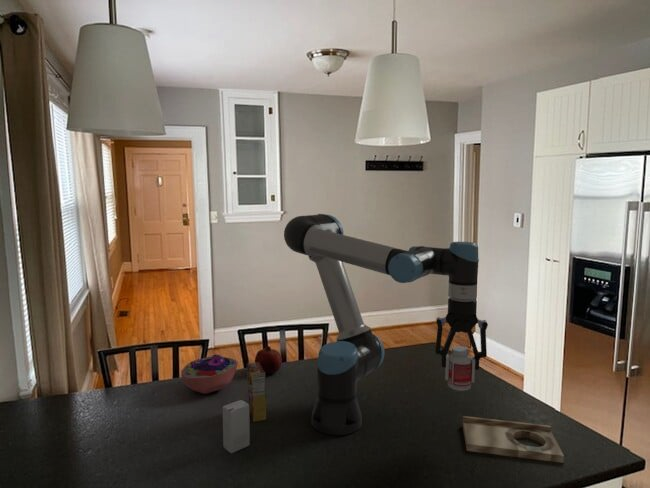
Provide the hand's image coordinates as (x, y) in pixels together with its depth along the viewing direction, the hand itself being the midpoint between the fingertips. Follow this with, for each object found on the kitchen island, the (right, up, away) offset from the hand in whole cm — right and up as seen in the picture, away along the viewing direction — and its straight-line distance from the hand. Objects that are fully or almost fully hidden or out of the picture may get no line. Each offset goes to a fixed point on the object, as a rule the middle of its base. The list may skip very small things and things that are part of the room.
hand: (459, 379), depth 126 cm
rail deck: (+14, -18, 0) cm, 22 cm away
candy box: (-59, -15, +14) cm, 62 cm away
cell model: (-78, -13, +31) cm, 85 cm away
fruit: (-59, -11, +45) cm, 75 cm away
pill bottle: (0, -2, 0) cm, 2 cm away
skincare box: (-62, -17, -4) cm, 64 cm away
